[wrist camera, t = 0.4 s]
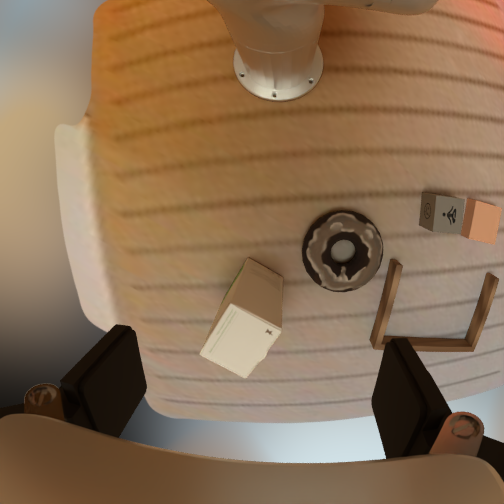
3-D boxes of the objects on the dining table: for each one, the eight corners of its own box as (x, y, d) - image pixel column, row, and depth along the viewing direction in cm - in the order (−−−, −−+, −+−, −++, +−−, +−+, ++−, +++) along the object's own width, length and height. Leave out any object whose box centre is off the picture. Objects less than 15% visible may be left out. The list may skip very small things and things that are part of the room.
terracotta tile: (466, 197, 40) (476, 200, 37) (491, 205, 40) (501, 208, 37) (459, 234, 42) (468, 238, 39) (485, 240, 41) (494, 244, 38)
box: (390, 259, 44) (396, 264, 41) (490, 273, 42) (499, 278, 39) (369, 339, 48) (373, 349, 45) (466, 343, 46) (473, 351, 43)
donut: (286, 233, 45) (286, 239, 41) (358, 194, 42) (365, 197, 38) (323, 298, 47) (325, 310, 43) (390, 263, 44) (398, 271, 40)
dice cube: (445, 227, 42) (460, 234, 37) (418, 224, 42) (432, 231, 37) (448, 195, 40) (464, 199, 35) (421, 192, 41) (436, 195, 36)
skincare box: (248, 256, 46) (230, 298, 31) (286, 278, 46) (286, 329, 31) (221, 300, 48) (195, 354, 33) (258, 320, 49) (246, 381, 34)
